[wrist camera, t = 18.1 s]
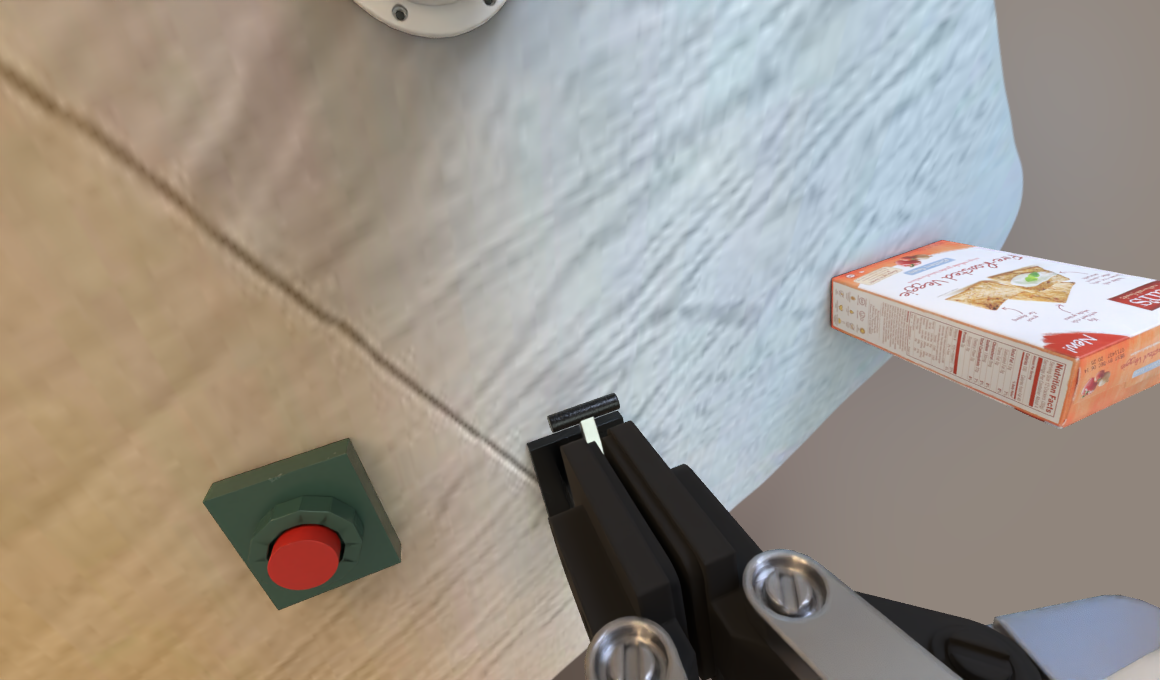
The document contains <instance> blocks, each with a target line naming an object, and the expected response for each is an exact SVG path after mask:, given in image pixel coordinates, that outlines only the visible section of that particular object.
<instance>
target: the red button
mask: <svg viewBox="0 0 1160 680" xmlns="http://www.w3.org/2000/svg"><path fill="white" fill-rule="evenodd" d="M340 550H341V542H340V539H339V537H338V535H337V534H336V533H335V532H334V531H333V530H331V529H330V528H328V527H325V526H322V525H318V524H304V525H299V526H296V527H293V528H291V529H289V530H287V531H285V532H284V533H283V534H281V535H280V536H279V537H278V539H277V540H276V542H275V544H274V546H273V549H272V552H271V556H270V559H269V562H268V567H267V569H268V574H269V576H270V578H271V579H272V581H274V582H275V583H276V584H277V585H279V586H281V587H284V588H287V589H292V590H305V589H310V588H314V587H317V586H319V585H321V584H323V583H325V582H326V581H328V580H329V579H330V578H331V577H332V576H333V575H334V573H335V572H336V570H337V568H338V563H339V557H340Z"/></svg>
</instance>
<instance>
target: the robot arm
mask: <svg viewBox="0 0 1160 680" xmlns="http://www.w3.org/2000/svg"><path fill="white" fill-rule="evenodd" d="M353 1H354V2H355V3H356V4H358V5H359V6H360V7H361V8H362V9H364V10H365V11H366V12H367V13H369V14H370V15H371V16H372V17H374V18H376V19H378V20H379V21H381V22H383V23H385V24H386V25H388V26H390V27H392V28H394V29H397V30H400V31H402V32H405V33H408V34H411V35H415V36H422V37H429V38H442V37H453V36H457V35H460V34H463V33H467V32H470V31H472V30H473V29H475V28H477V27H479V26H480V25H482V24H484V23H486V22H487V21H488V20H489V19H490V18H491V17H492V16H493V15H494V14H495V13H497V12H498V11H499V10H500V8H501V7H502V6H503V4H504V3H505V2H506V1H507V0H491V5H487V4H485V2H484V0H353ZM398 11H401V12H403V13H404V15H405V17H404V19H403V20H399V19H398V18H397V17H396V15H395V14H396V12H398ZM607 435H608V436H606V437H603V438H601V444H602V449H603V452H602V451H601V449H600V448H599V446H598V445H597V443H596V442H595V441H592V442H590V443H587V442H586V440H585V439H584V438H582V439H579V440H576V441H573V442H571V443H568V444H565V445H563V446H560V450H561V454H562V458H563V462H564V465H565V469H566V473H567V477H568V481H569V484H570V488H571V492H572V496H573V499H574V503H575V507H574V508H572V509H569V510H567V511H564V512H562V513H559V514H557V515H554V516H552V517H549V518H548V520H549V524H550V528H551V531H552V534H553V537H554V541H555V544H556V547H557V550H558V553H559V557H560V560H561V562H562V565H563V568H564V571H565V574H566V577H567V580H568V582H569V585H570V588H571V591H572V593H573V596H574V599H575V601H576V604H577V607H578V610H579V612H580V615H581V618H582V620H583V623H584V626H585V629H586V631H587V634H588V637H589V639H590V644H589V646H588V649H587V653H586V657H585V676H586V680H699V677H700V678H701V679H702V680H707V679H709V678H711V679H712V680H1160V608H1159V607H1156V606H1154V605H1152V604H1149V603H1147V602H1145V601H1143V600H1140V599H1135V598H1131V597H1126V596H1122V595H1102V596H1097V597H1092V598H1087V599H1082V600H1077V601H1072V602H1067V603H1062V604H1057V605H1052V606H1048V607H1043V608H1037V609H1033V610H1028V611H1022V612H1017V613H1013V614H1007V615H1003V616H997V617H995V618H994V622H993V624H990V625H983V624H981V623H978V622H975V621H972V620H969V619H965V618H961V617H957V616H953V615H949V614H945V613H941V612H937V611H933V610H929V609H925V608H921V607H917V606H913V605H909V604H905V603H901V602H897V601H892V600H889V599H885V598H881V597H877V596H872V595H868V594H864V593H860V592H856V591H853V590H852V589H851V588H849V587H848V586H847V585H846V584H845V583H843V582H842V581H841V580H840V579H838V578H837V577H836V576H835V575H833V574H832V573H831V572H830V571H829V570H827V569H826V568H825V567H824V566H822V565H821V564H820V563H819V562H817V561H815V560H814V559H812V558H811V557H809V556H808V555H805V554H802V553H799V552H796V551H794V550H785V549H775V550H767V551H765V552H762V550H761V549H760V548H759V547H758V546H757V545H756V543H755V542H754V541H753V540H752V539H751V538H750V537H749V536H748V534H747V533H746V532H745V531H744V530H743V528H742V527H741V526H740V525H739V524H738V523H737V521H736V520H735V519H734V518H733V517H732V516H731V515H730V513H729V512H728V511H727V510H726V509H725V507H724V506H723V505H722V504H721V503H720V502H719V501H718V499H717V498H716V497H715V496H714V495H713V494H712V492H711V491H710V490H709V489H708V488H707V487H706V485H705V484H704V483H703V482H702V481H701V480H700V478H699V477H698V476H697V475H696V474H695V473H694V472H693V470H692V469H691V468H690V467H689V466H688V465H685V464H682V465H680V466H677V467H675V468H672V469H670V468H669V467H668V466H667V464H666V463H665V462H664V461H663V459H662V458H661V457H660V456H659V454H658V453H657V452H656V451H655V449H654V448H653V447H652V446H651V444H650V443H649V442H648V441H647V439H646V438H645V437H644V436H643V434H642V433H641V432H640V431H639V429H638V428H637V427H636V426H635V424H634V423H633V422H632V421H628V422H625V423H622V424H619V425H617V426H614V427H611V428H609V429H608V430H607ZM603 453H604V454H603Z"/></svg>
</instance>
